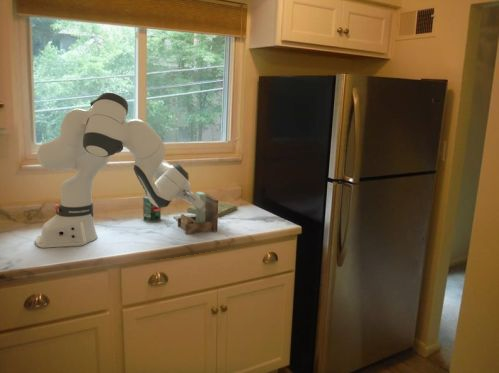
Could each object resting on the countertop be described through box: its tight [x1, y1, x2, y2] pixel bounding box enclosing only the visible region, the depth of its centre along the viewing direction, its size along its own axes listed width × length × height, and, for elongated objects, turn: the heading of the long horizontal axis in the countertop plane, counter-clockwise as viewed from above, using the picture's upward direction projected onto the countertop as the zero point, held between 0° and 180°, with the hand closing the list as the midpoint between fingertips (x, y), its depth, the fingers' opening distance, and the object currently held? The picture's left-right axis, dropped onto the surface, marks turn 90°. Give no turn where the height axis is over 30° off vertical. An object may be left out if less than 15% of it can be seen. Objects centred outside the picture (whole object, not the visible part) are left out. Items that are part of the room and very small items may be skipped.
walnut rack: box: [177, 192, 219, 235], centre depth 190 cm, size 14×14×14 cm
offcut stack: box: [180, 214, 196, 231], centre depth 189 cm, size 4×8×6 cm, turn 27°
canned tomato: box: [142, 194, 162, 222], centre depth 202 cm, size 8×8×11 cm
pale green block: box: [195, 191, 206, 223], centre depth 190 cm, size 3×5×16 cm, turn 27°
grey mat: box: [173, 214, 196, 222], centre depth 204 cm, size 12×12×1 cm
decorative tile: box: [186, 200, 238, 218], centre depth 222 cm, size 19×20×4 cm
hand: (201, 208), depth 191 cm, fingers closed on pale green block, 5 cm apart
